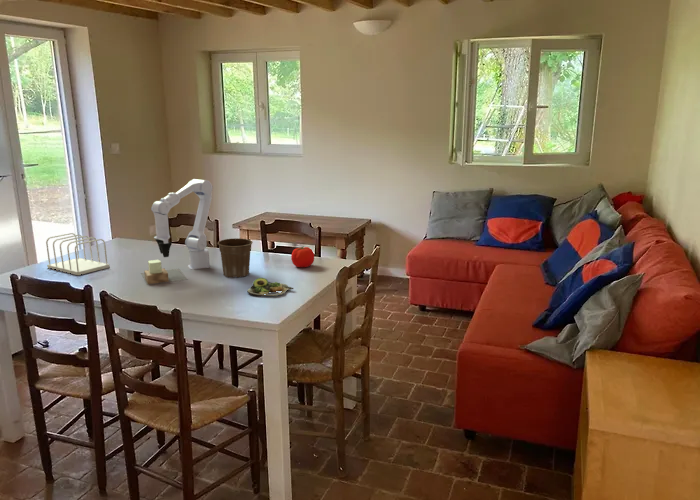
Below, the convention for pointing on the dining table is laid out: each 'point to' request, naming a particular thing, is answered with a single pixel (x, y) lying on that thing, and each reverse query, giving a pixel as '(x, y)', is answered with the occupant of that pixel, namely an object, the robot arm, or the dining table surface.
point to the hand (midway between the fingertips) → (164, 255)
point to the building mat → (171, 275)
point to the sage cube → (155, 266)
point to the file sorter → (78, 264)
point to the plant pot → (235, 257)
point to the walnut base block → (156, 277)
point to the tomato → (302, 257)
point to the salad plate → (267, 288)
